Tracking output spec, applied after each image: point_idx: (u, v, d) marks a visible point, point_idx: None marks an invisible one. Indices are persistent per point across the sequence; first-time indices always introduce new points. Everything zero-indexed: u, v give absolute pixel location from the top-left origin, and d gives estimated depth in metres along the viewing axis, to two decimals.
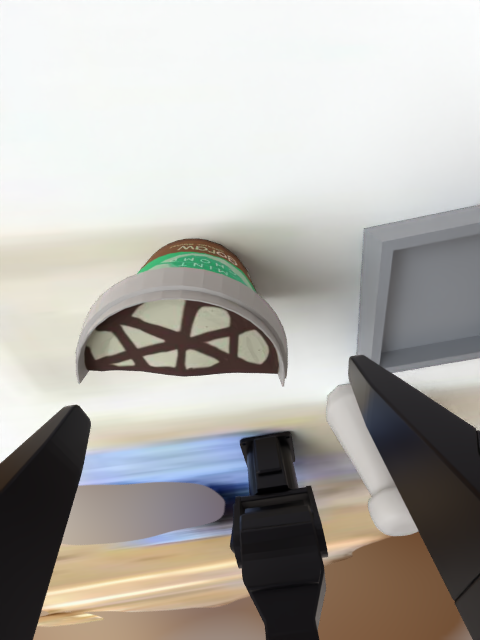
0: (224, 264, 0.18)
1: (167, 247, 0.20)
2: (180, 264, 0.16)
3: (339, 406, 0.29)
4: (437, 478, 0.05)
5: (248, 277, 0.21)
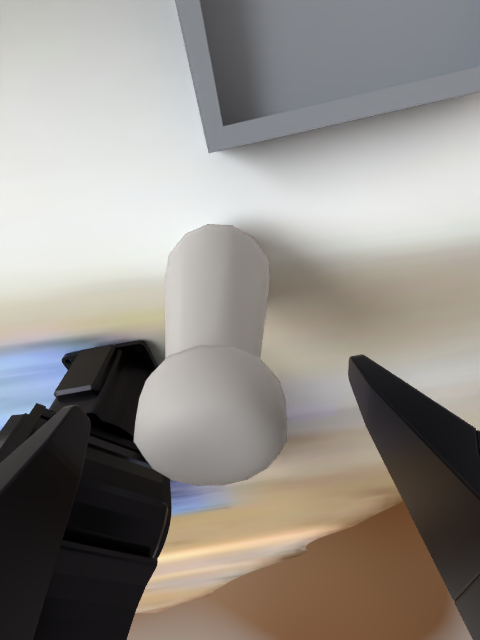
0: None
1: None
2: None
3: (176, 249, 0.14)
4: (437, 478, 0.05)
5: None
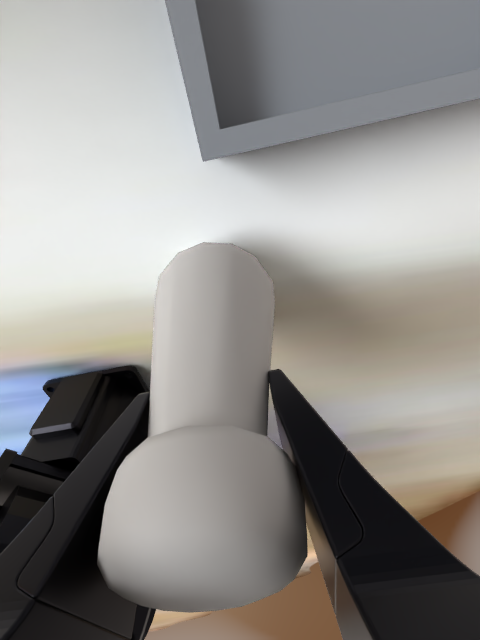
0: None
1: None
2: None
3: (166, 272, 0.12)
4: (306, 497, 0.06)
5: None
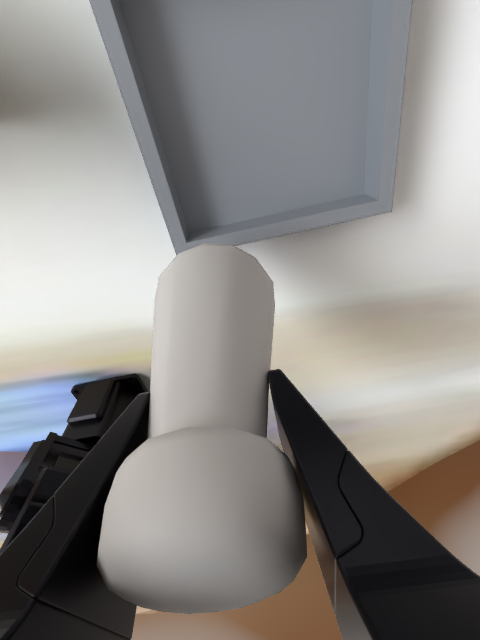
0: None
1: None
2: None
3: (166, 273, 0.12)
4: (306, 497, 0.06)
5: None
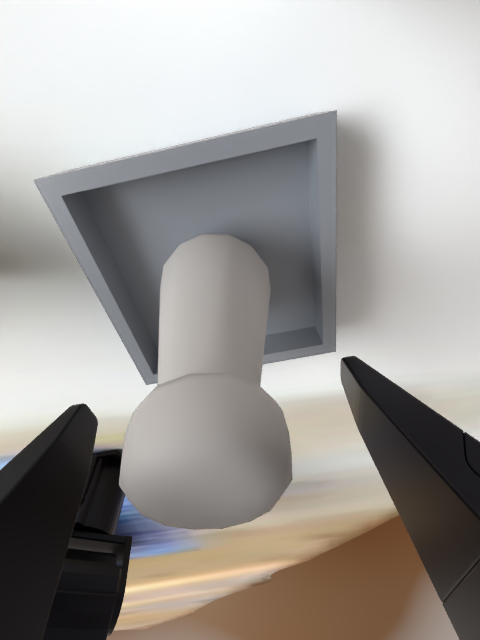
0: None
1: None
2: None
3: (170, 261, 0.14)
4: (424, 480, 0.06)
5: None
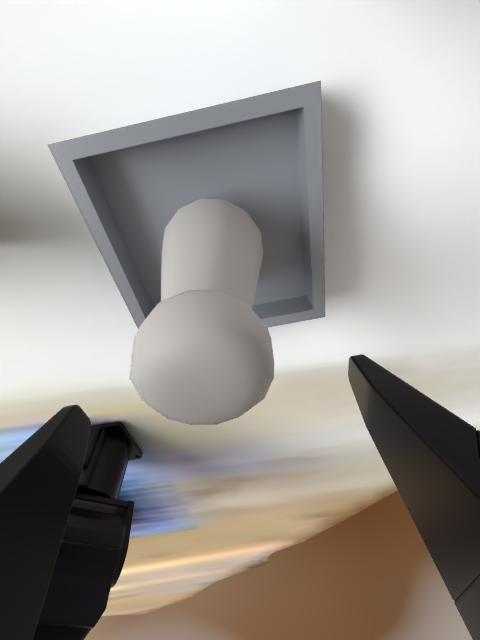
0: None
1: None
2: None
3: (170, 223, 0.15)
4: (437, 478, 0.05)
5: None
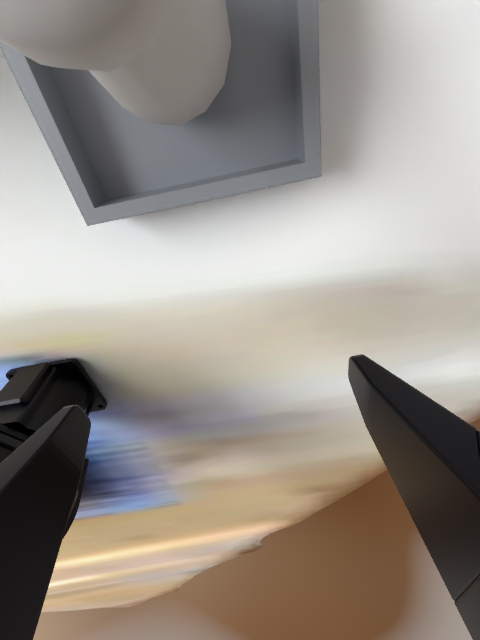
0: None
1: None
2: None
3: None
4: (437, 478, 0.05)
5: None
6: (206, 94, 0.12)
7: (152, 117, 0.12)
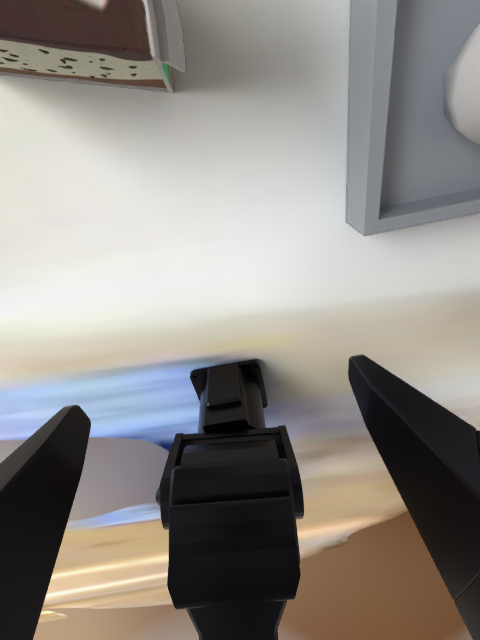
0: None
1: None
2: None
3: None
4: (437, 478, 0.05)
5: None
6: None
7: None
